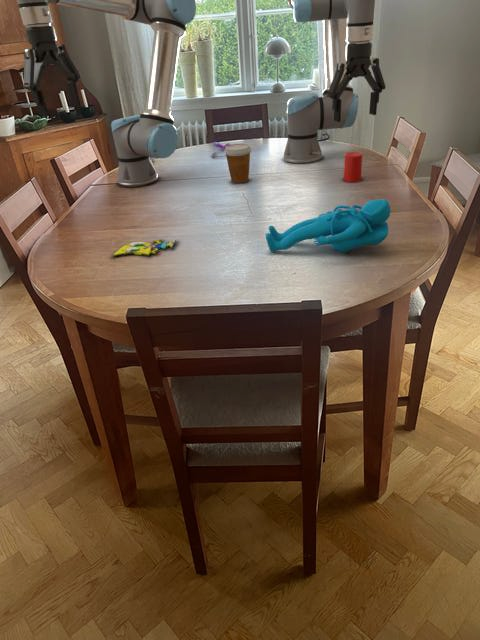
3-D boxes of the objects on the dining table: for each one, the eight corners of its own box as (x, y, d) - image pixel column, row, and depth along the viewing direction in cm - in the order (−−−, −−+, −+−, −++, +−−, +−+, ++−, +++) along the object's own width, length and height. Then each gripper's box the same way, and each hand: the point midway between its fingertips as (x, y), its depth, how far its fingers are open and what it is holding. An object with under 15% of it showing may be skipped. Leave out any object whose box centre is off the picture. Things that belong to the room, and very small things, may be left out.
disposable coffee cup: (222, 184, 172) (219, 149, 166) (233, 176, 180) (230, 142, 173) (247, 185, 169) (245, 150, 163) (256, 177, 176) (254, 143, 170)
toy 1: (167, 253, 124) (112, 254, 126) (167, 256, 124) (112, 257, 126) (176, 237, 132) (124, 238, 134) (176, 240, 133) (125, 241, 135)
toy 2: (270, 213, 128) (386, 185, 117) (281, 248, 133) (393, 225, 122) (259, 239, 114) (389, 210, 104) (272, 277, 119) (397, 254, 109)
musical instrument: (233, 161, 200) (257, 143, 213) (232, 156, 199) (256, 138, 211) (189, 161, 213) (214, 143, 225) (188, 156, 212) (212, 139, 224)
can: (352, 183, 162) (353, 157, 158) (340, 179, 167) (341, 154, 162) (364, 179, 165) (366, 153, 160) (352, 176, 169) (353, 150, 165)
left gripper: (13, 28, 118) (39, 120, 129) (80, 22, 136) (98, 103, 148) (-9, 30, 120) (19, 120, 132) (60, 24, 139) (79, 103, 151)
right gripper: (330, 47, 137) (328, 126, 149) (401, 38, 144) (394, 113, 156) (316, 46, 143) (315, 121, 155) (385, 37, 150) (380, 109, 162)
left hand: (61, 111), depth 140 cm, fingers open, 13 cm apart
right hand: (355, 117), depth 155 cm, fingers open, 13 cm apart
